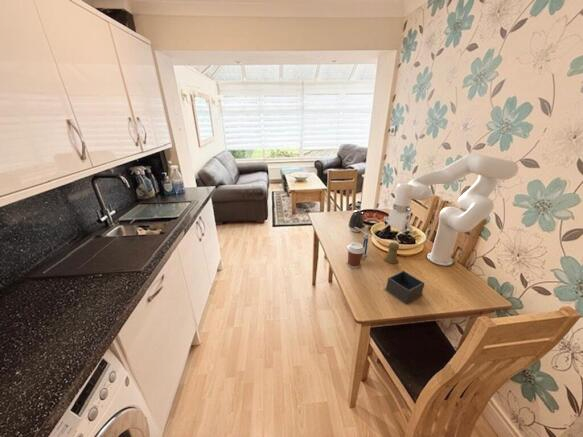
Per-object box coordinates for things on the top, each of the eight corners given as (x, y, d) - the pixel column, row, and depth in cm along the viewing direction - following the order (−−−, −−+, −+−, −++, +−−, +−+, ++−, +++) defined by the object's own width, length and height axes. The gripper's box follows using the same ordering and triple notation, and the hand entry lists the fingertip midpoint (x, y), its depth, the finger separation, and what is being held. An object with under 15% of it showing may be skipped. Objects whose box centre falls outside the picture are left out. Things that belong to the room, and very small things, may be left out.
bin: (400, 281, 118) (403, 270, 115) (421, 294, 109) (424, 283, 107) (385, 289, 113) (388, 277, 110) (406, 303, 104) (409, 291, 101)
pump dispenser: (364, 233, 165) (367, 213, 159) (349, 233, 165) (351, 213, 159) (360, 227, 174) (363, 208, 168) (346, 227, 175) (348, 208, 169)
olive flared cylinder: (395, 264, 132) (399, 247, 127) (384, 261, 134) (387, 244, 130) (397, 259, 136) (401, 242, 132) (386, 256, 139) (389, 239, 135)
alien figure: (346, 249, 146) (349, 220, 139) (352, 247, 149) (356, 218, 141) (371, 265, 130) (376, 234, 123) (378, 262, 133) (383, 232, 125)
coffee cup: (363, 270, 127) (365, 250, 122) (345, 268, 128) (347, 249, 124) (361, 260, 135) (364, 242, 130) (345, 258, 137) (347, 240, 132)
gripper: (421, 211, 117) (413, 241, 124) (391, 201, 131) (386, 229, 138) (411, 214, 114) (404, 245, 121) (382, 203, 127) (377, 232, 134)
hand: (394, 236), depth 129 cm, fingers open, 9 cm apart
